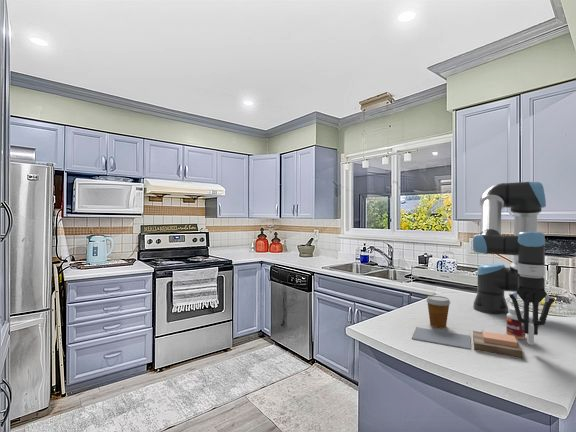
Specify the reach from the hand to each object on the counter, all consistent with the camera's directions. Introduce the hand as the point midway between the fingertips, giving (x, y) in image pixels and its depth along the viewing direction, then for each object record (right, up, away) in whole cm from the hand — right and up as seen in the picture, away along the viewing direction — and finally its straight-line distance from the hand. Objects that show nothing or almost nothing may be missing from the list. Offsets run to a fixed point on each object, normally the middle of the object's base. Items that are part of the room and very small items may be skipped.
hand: (530, 343), depth 113 cm
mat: (-25, -3, +13) cm, 29 cm away
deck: (-9, -3, +5) cm, 11 cm away
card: (-8, -1, +4) cm, 9 cm away
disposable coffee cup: (-20, -3, +28) cm, 34 cm away
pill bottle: (+6, -4, +15) cm, 17 cm away
